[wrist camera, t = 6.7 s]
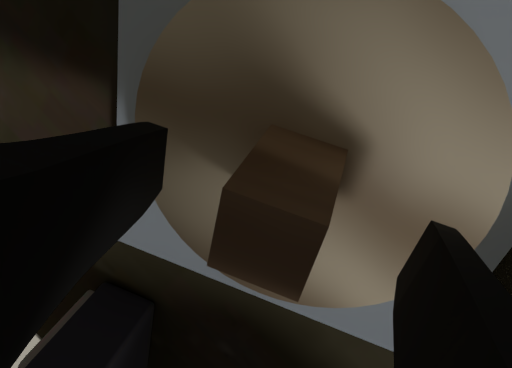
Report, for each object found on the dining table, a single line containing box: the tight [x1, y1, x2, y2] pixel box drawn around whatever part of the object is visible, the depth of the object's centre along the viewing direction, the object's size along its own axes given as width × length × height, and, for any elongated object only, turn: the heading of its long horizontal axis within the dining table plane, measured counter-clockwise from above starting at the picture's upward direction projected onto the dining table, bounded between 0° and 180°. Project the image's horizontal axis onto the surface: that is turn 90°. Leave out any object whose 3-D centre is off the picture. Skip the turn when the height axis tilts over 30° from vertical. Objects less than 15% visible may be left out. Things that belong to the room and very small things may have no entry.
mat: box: [117, 0, 512, 352], centre depth 13 cm, size 14×14×1 cm
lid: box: [135, 0, 512, 308], centre depth 11 cm, size 12×12×5 cm
